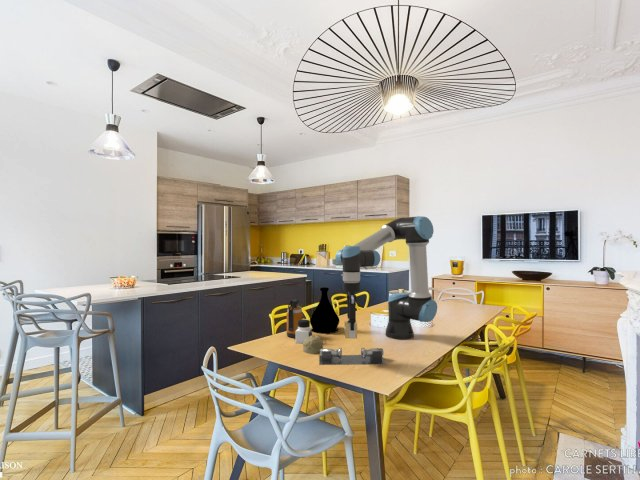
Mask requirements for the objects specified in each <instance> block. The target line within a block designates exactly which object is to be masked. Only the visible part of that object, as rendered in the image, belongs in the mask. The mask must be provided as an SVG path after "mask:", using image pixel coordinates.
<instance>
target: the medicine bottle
mask: <svg viewBox="0 0 640 480" xmlns="http://www.w3.org/2000/svg"><path fill="white" fill-rule="evenodd" d="M310 325H311V324H310V319H307V318H303V319H301V320H299V321H298V329H297V330H296V331H295V337H294V338H295V344H299V345H301V344H302V345H303V343H304V341H305V340H306V338H308V337H310V336H313V332H312V327H311V326H310Z"/></svg>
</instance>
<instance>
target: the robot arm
mask: <svg viewBox="0 0 640 480" xmlns="http://www.w3.org/2000/svg"><path fill="white" fill-rule="evenodd" d="M433 235H434V226H433V223H432V221H431V220H430V219H429V218H428V217H426V216H420V215H416V216H407V217H404V216H403V217H397V218H396V219H393V220H391V221H389V222H387V223H386V224H384V225H382V226H381V227H380V229H379V230H377V231H375V232H374V233H373V234H371V235H369V236H367V237H365V238H364V239H362V240H360V241H359V242H356V243H355V244H354V245H345V246H343V248H342V249H338V250H337V252H336V253H335V257H334V258H335V261H336V263H337V264H338V265H341V266H342V274H340V276H341V277H342V291H343V292H347V294H346V304H347V310H346V311H347V315H346V316H347V320H346V321H347V322H348V323H349V338H348V339H356V338H355V322H357V319H356V318H357V316H356V312H357V311H356V306H357V295H356V293H357V292H360V290H361V283H360V281H361V268H372V267H377V266H379V264H380V261H381V254H380V253H379V252H378V251H377V249H379V248H380V247H382V246H384V245H385V244H387V243H392V242H394V241H397V240H405V244H406V245H407V246H408V250H409V251H408V252H409V253H408V254H409V255H408V256H409V272H410V291H411V292H407V293H406V292H402V293H401V292H400V293H393V294H389V296H388V322H387V325H386V328H385V336H386V337H387V338H390V339H395V340H410V339H413V338H414V335H415V333H414V329H413V327H412V323H411V320H414V321H417V322H421V323H423V322H424V323H429V322H431V321H433V320H434V319H435V317H436V316H437V315H436V314H437V311H438V304H437V302H436V300H434V299H433V295H432V294H431V293H430V291H429V278H428V276H429V275H428V256H427V246H428V244H429V243H430V239H431V238H433Z"/></svg>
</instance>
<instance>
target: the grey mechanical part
mask: <svg viewBox="0 0 640 480" xmlns="http://www.w3.org/2000/svg"><path fill="white" fill-rule="evenodd" d="M360 355H361V356H362V358H363V359H364V358H365V357H368V356H370V359H371V360H372V361H382V357H383V356H384V349H383V348H379V347H378V348H367V349H366V348H365V347H361V348H360Z"/></svg>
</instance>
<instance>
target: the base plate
mask: <svg viewBox="0 0 640 480" xmlns="http://www.w3.org/2000/svg"><path fill="white" fill-rule="evenodd" d="M318 357H319V361H318V363H319V366H322V365H323V366H329V365H330V366H334V365H335V366H337V365H339V366H340V365H343V366H344V365H347V366H348V365H349V366H350V365H351V366H352V365H355V366H357V365H359V366H360V365H361V366H362V365H365V366H366V365H367V366H368V365H372V366H375V365H377V366H378V365H387V362H386V361H385V358H384V357H383V356H382V361H372V360H371V359H370V356H368V357H365V358H364V359H363V358H362V356H361V354H342V357H341V359H339V357H333V359H332V361H322V356H320V354H319V355H318Z"/></svg>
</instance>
